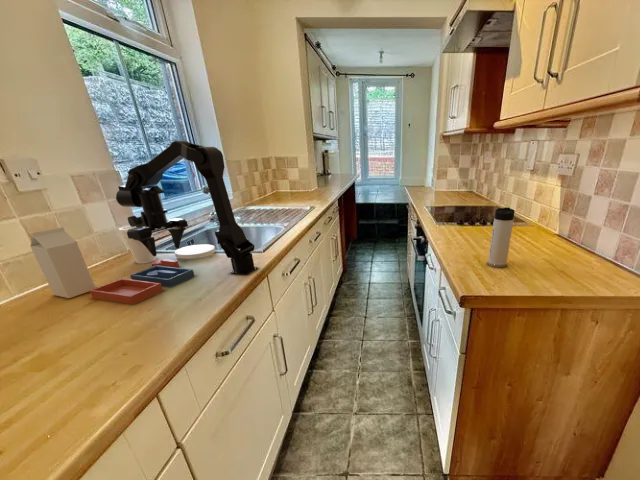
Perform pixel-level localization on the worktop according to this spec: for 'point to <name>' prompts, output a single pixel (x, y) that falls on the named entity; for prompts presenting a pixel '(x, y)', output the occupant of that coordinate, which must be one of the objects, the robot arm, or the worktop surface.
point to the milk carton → (61, 262)
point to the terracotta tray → (126, 291)
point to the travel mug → (501, 237)
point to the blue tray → (182, 276)
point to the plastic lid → (195, 251)
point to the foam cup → (137, 247)
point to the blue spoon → (162, 274)
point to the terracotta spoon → (166, 263)
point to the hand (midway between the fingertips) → (166, 252)
